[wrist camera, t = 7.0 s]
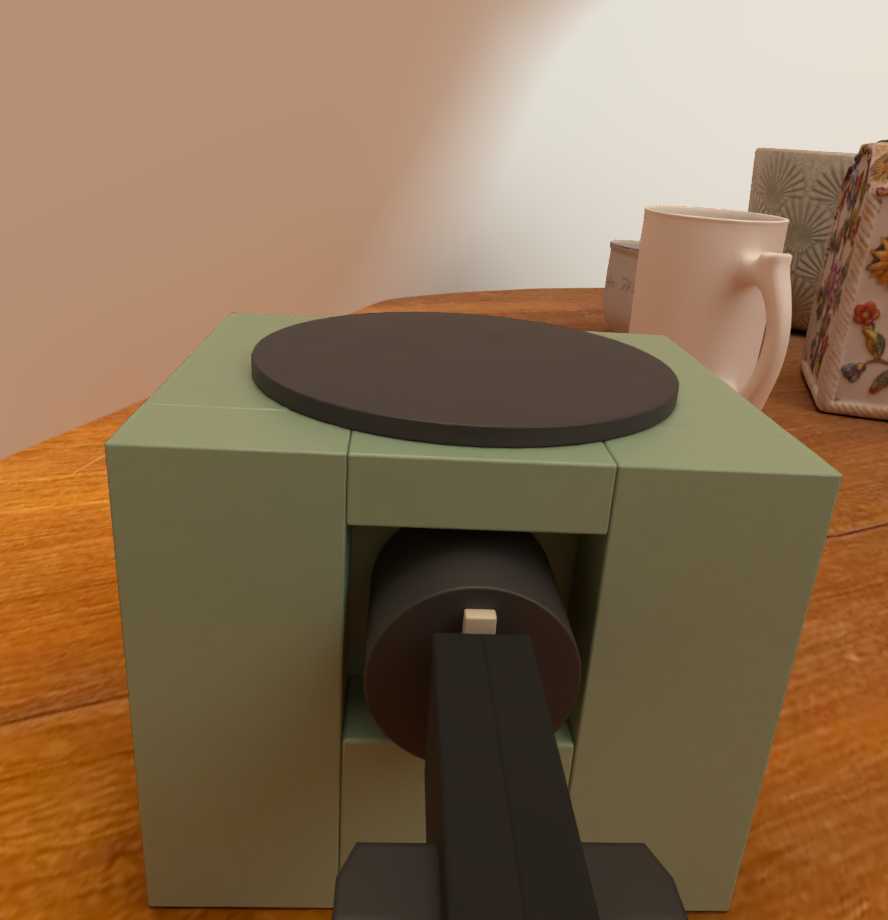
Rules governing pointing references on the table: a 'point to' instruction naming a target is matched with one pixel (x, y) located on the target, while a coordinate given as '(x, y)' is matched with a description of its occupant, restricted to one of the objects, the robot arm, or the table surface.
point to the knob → (459, 619)
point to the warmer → (447, 507)
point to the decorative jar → (853, 297)
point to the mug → (717, 291)
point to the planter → (800, 211)
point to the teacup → (620, 284)
